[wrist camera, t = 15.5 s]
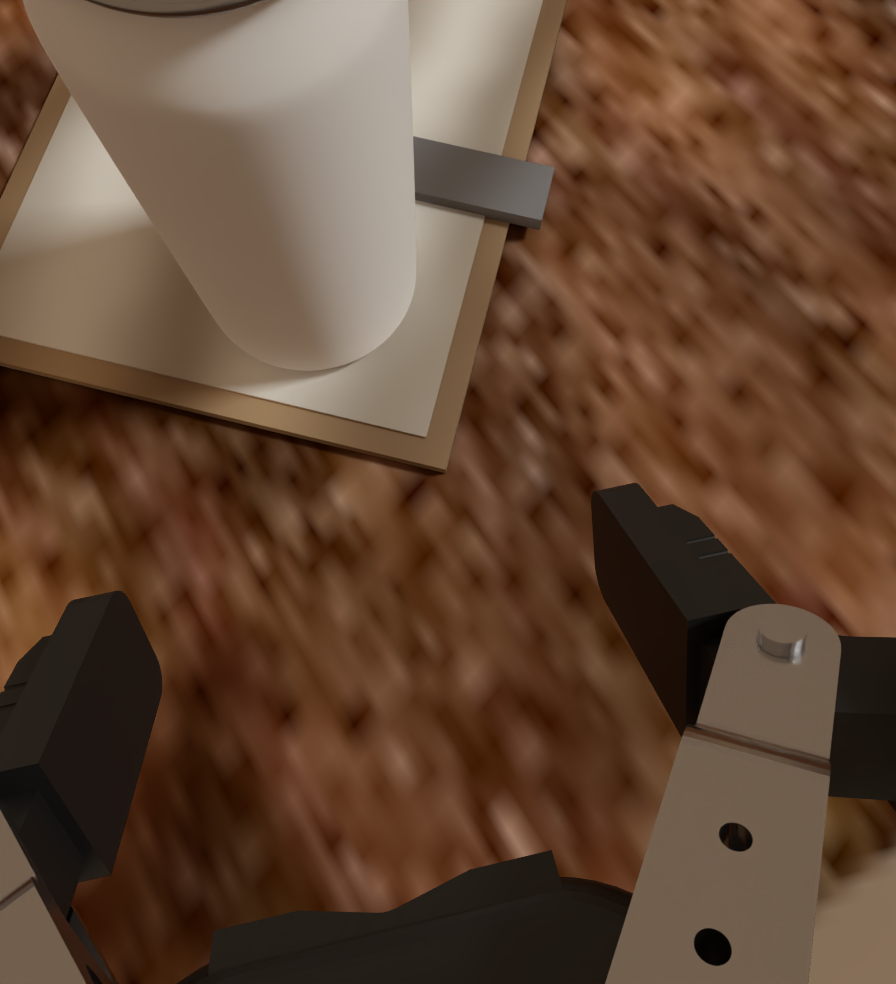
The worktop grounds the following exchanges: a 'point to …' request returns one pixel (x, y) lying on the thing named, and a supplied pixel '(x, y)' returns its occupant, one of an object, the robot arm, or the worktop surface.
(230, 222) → the can
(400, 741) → the worktop surface
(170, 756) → the worktop surface
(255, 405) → the clipboard
